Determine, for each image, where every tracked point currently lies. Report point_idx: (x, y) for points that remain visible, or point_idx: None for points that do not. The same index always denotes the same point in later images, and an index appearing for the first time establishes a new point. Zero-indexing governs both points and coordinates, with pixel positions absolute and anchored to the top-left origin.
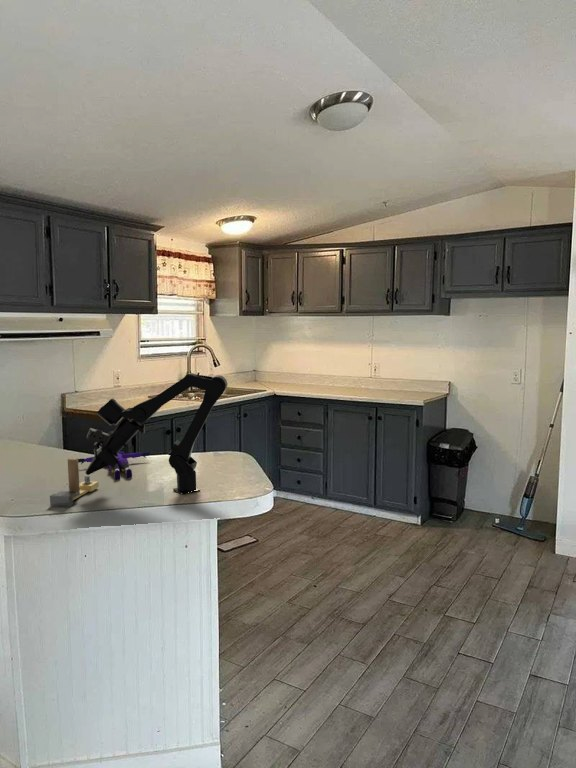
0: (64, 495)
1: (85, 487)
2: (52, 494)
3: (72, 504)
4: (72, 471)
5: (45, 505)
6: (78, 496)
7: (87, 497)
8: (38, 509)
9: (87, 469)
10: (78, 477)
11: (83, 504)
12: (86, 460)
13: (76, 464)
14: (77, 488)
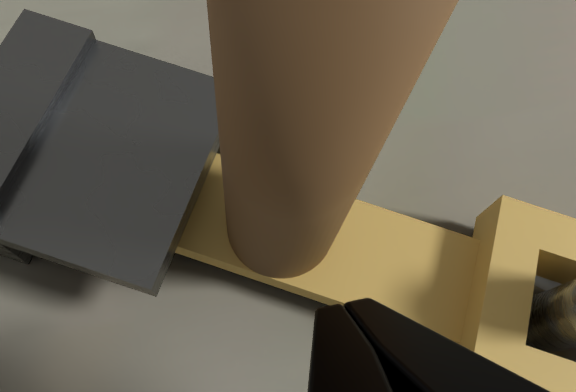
0: None
1: (474, 308)
2: (65, 25)
3: (15, 258)
4: (212, 62)
5: (109, 37)
6: (246, 275)
7: (274, 370)
8: (9, 8)
9: (338, 343)
10: (280, 207)
11: (9, 372)
12: None
13: (254, 42)
14: (247, 242)
